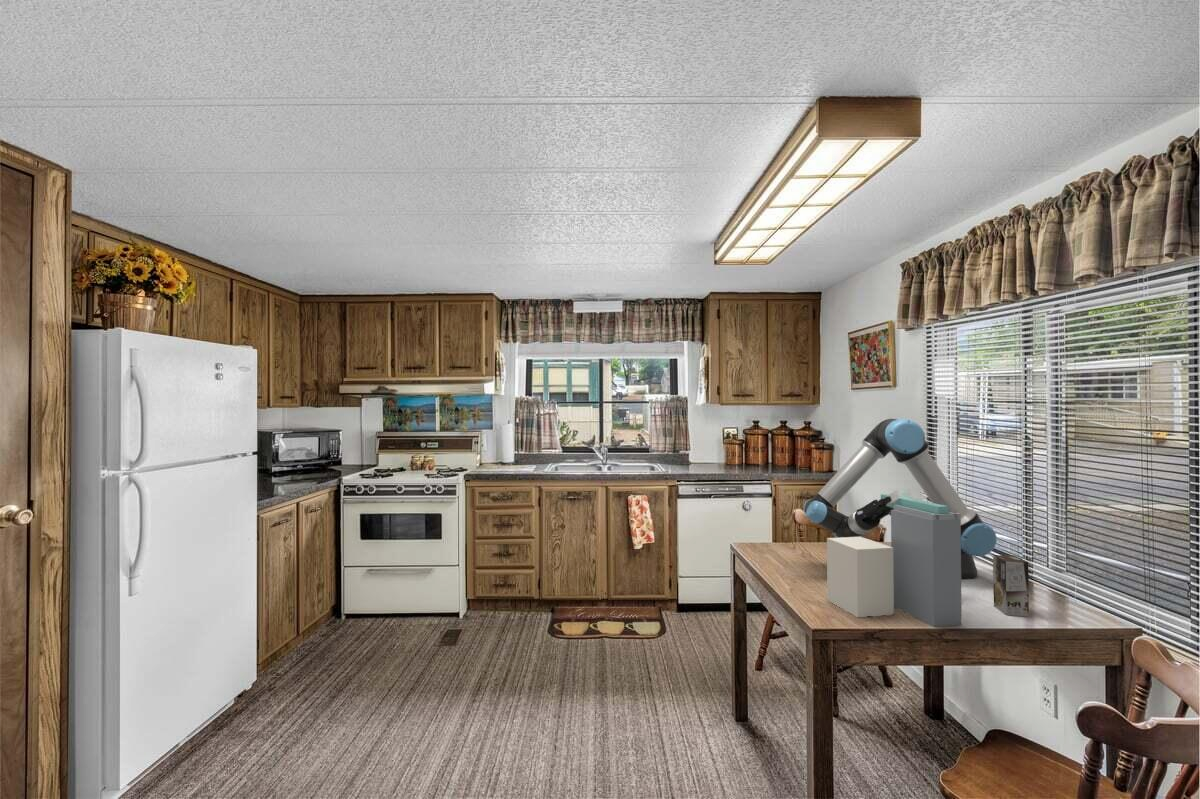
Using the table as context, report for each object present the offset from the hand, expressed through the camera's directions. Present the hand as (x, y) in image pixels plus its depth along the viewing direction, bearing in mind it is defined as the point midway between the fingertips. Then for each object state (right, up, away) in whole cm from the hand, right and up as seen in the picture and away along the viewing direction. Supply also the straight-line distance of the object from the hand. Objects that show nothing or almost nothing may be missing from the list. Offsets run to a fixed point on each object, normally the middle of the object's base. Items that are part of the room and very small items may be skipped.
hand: (904, 494), depth 191 cm
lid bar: (+1, -5, -4) cm, 6 cm away
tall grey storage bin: (+2, -35, -9) cm, 36 cm away
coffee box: (+30, -35, -6) cm, 46 cm away
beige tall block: (-15, -35, -2) cm, 38 cm away
